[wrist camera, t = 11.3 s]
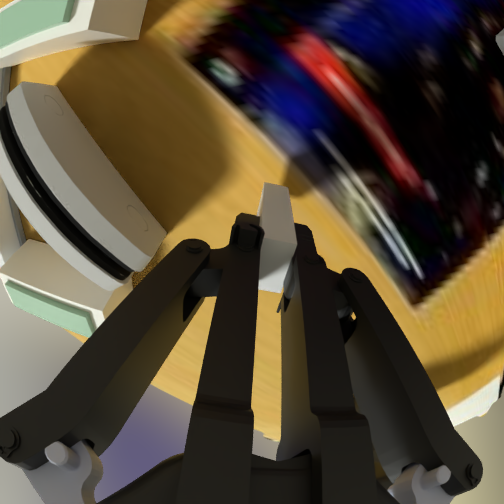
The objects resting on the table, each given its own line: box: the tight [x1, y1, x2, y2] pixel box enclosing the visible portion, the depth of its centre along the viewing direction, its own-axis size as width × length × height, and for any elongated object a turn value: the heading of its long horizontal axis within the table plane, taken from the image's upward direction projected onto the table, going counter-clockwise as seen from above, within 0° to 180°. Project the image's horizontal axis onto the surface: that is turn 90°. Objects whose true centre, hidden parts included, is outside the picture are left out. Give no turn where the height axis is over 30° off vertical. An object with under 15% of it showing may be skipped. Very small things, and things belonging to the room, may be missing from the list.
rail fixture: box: [0, 0, 148, 338], centre depth 15 cm, size 28×17×7 cm, turn 169°
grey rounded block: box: [0, 82, 167, 291], centre depth 14 cm, size 17×5×10 cm, turn 32°
